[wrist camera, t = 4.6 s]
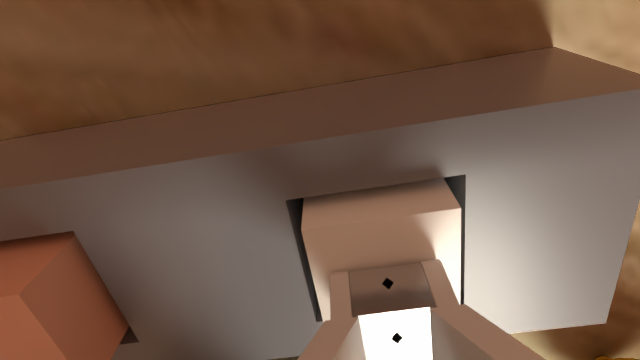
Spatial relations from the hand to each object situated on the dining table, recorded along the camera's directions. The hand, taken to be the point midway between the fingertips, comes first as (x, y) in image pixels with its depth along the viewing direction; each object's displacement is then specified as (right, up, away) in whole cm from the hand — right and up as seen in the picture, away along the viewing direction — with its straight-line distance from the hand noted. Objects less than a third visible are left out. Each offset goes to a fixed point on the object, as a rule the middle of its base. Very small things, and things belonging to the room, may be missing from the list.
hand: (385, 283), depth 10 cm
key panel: (-5, +2, +6) cm, 8 cm away
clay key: (-11, 0, +3) cm, 11 cm away
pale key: (0, +2, +3) cm, 4 cm away
